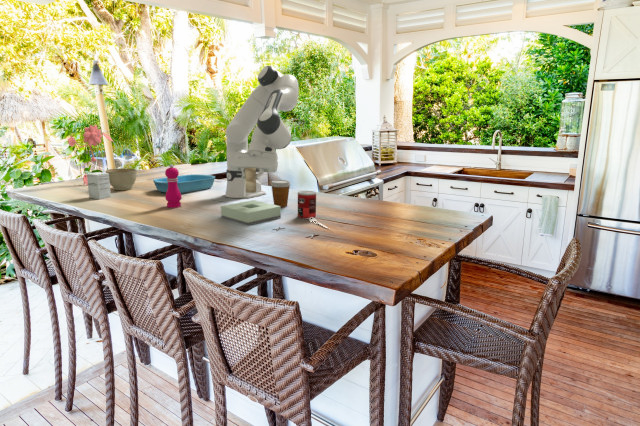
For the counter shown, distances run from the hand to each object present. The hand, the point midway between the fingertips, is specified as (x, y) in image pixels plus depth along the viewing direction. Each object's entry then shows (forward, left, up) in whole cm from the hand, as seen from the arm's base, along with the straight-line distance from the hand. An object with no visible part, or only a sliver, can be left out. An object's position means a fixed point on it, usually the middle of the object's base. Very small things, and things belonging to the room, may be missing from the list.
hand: (250, 178), depth 180 cm
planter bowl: (+9, -102, -17) cm, 104 cm away
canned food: (-18, +16, -17) cm, 30 cm away
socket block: (0, 0, -17) cm, 17 cm away
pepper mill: (+12, -42, -17) cm, 47 cm away
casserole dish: (-16, -78, -18) cm, 81 cm away
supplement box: (+28, -86, -17) cm, 92 cm away
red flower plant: (+13, -126, -17) cm, 128 cm away
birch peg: (0, 0, -6) cm, 6 cm away
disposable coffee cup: (-25, -8, -17) cm, 32 cm away
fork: (-11, +31, -18) cm, 37 cm away
